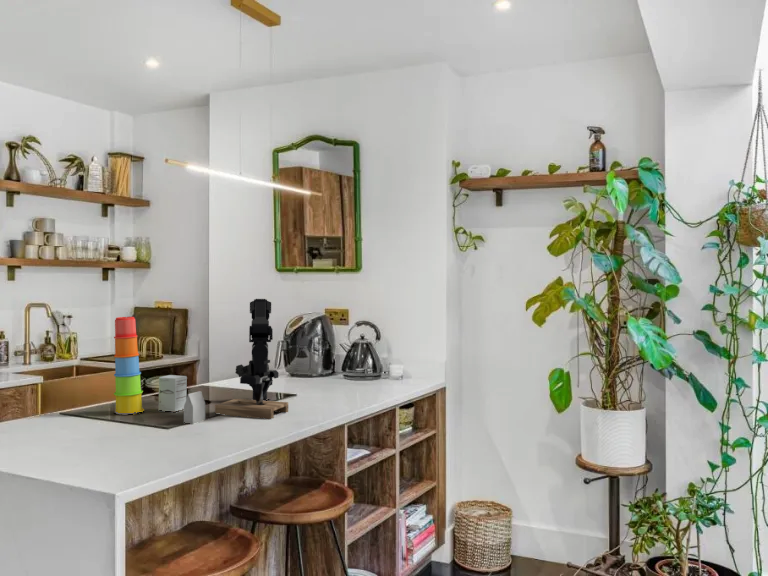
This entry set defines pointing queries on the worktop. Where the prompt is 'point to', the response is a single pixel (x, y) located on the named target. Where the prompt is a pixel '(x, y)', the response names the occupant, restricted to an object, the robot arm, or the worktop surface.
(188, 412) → the grey gabled carton
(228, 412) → the keyhole board
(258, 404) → the tee peg
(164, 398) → the supplement box
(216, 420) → the worktop surface
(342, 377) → the worktop surface
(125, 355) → the stacking cups
